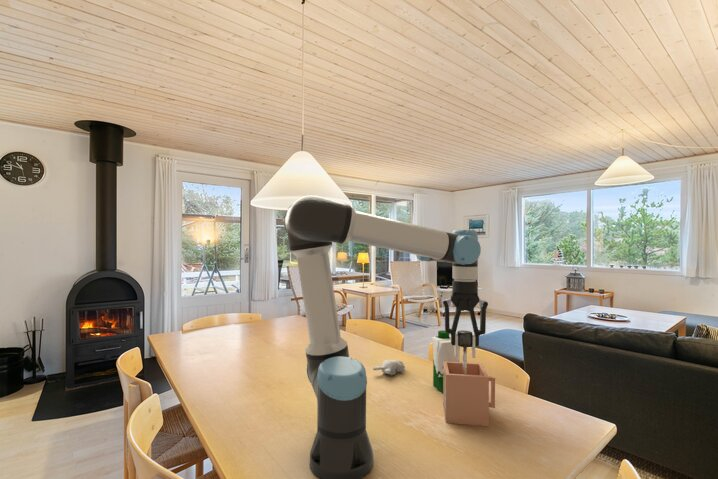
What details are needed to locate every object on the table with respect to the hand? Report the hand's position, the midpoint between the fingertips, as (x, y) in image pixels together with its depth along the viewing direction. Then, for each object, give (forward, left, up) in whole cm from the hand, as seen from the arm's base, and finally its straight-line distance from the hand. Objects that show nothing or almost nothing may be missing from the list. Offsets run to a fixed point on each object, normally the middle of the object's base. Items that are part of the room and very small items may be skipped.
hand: (464, 356), depth 110 cm
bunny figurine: (+31, +25, -18) cm, 44 cm away
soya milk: (+19, +4, -18) cm, 27 cm away
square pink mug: (0, -1, -18) cm, 18 cm away
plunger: (0, 0, -14) cm, 14 cm away
